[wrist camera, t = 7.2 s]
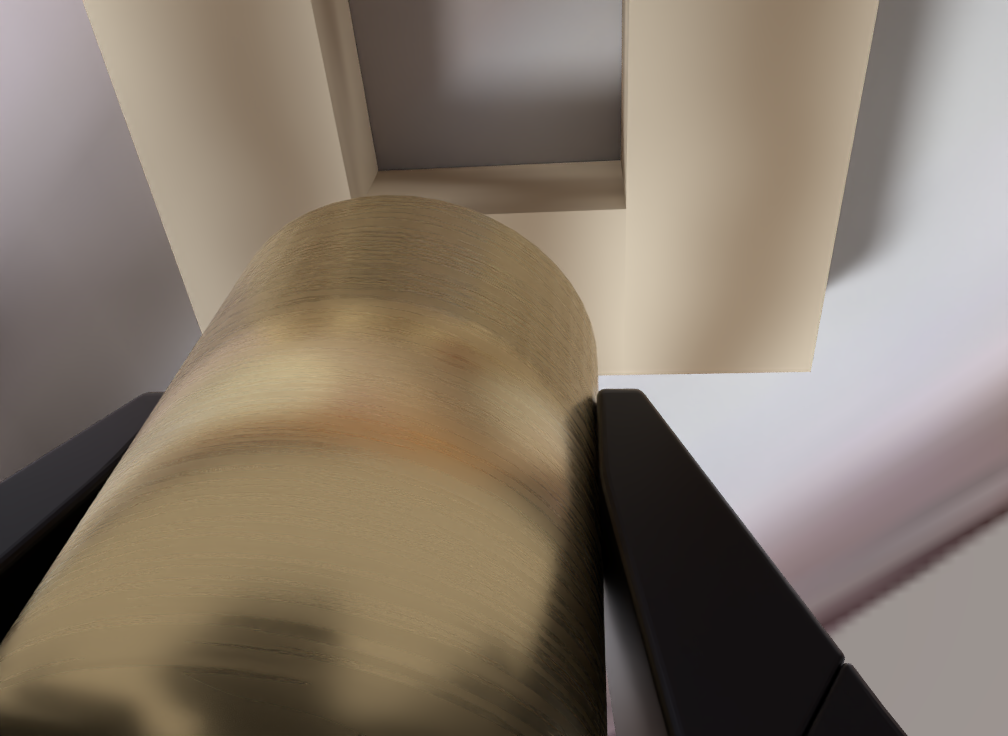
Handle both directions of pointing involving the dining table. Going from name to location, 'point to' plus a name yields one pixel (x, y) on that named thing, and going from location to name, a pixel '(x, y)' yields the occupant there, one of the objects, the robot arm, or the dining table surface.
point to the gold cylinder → (345, 506)
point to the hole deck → (530, 187)
